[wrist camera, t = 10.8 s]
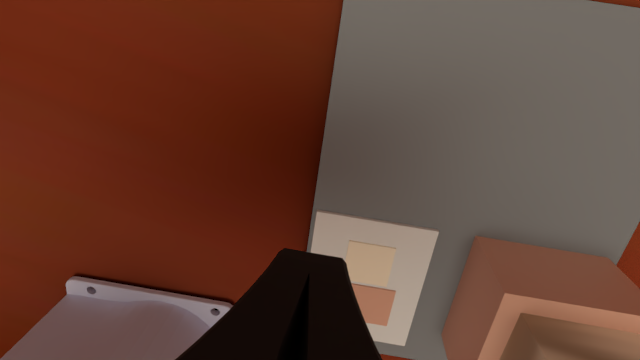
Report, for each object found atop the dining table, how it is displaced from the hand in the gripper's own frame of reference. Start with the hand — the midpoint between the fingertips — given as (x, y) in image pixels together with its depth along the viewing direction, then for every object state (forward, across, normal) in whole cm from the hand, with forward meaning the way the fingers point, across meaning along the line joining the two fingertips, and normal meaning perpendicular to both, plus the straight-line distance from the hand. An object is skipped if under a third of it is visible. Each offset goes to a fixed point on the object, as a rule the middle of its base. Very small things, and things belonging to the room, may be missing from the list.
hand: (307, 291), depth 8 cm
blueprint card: (+9, -2, +6) cm, 12 cm away
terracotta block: (+9, -10, +6) cm, 15 cm away
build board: (+10, -6, +2) cm, 12 cm away
